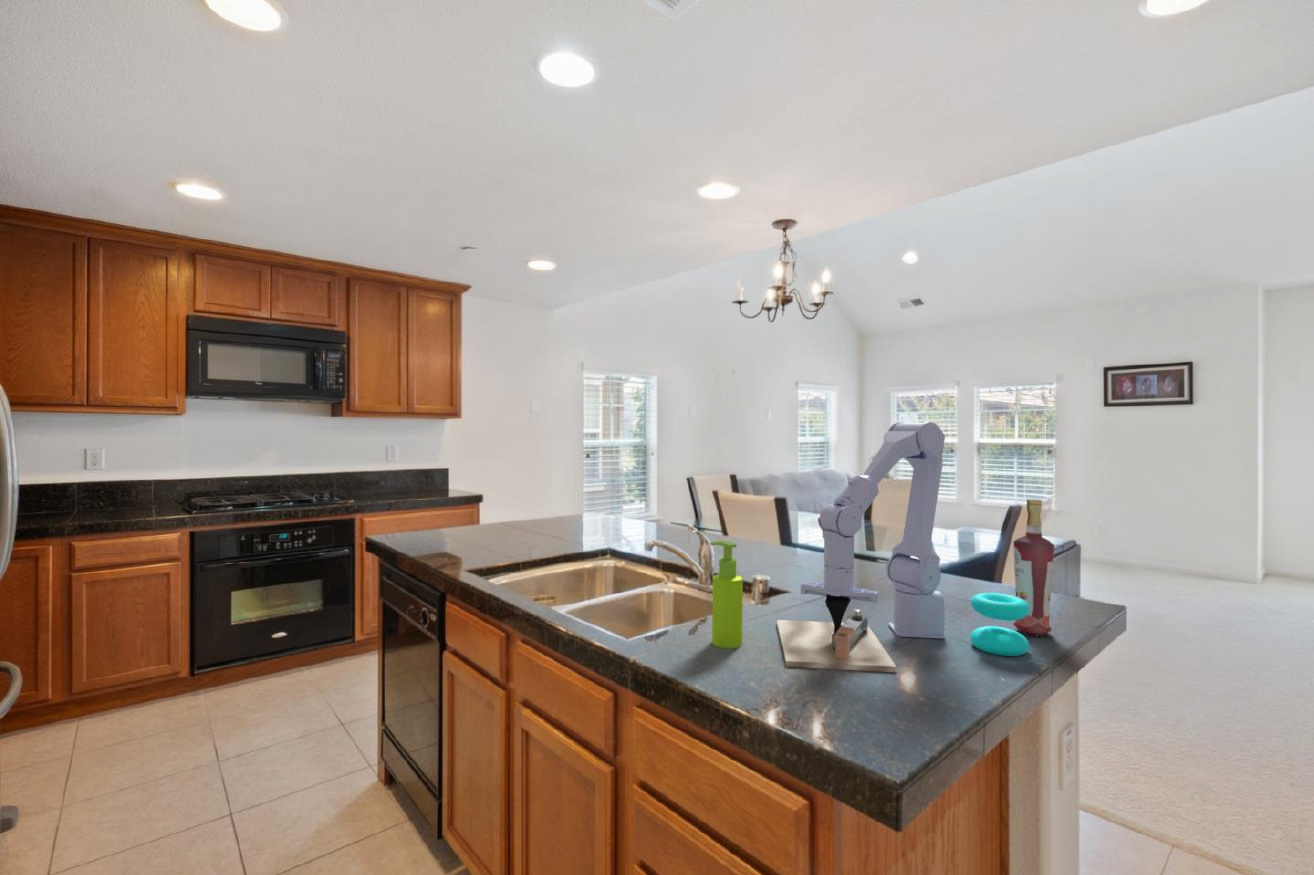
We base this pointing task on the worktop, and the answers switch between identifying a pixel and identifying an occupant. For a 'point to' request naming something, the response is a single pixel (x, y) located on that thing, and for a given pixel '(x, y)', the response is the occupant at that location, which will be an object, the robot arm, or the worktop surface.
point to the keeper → (843, 641)
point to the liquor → (1034, 573)
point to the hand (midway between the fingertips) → (837, 634)
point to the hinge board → (829, 648)
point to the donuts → (999, 637)
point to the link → (854, 626)
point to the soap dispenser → (727, 601)
